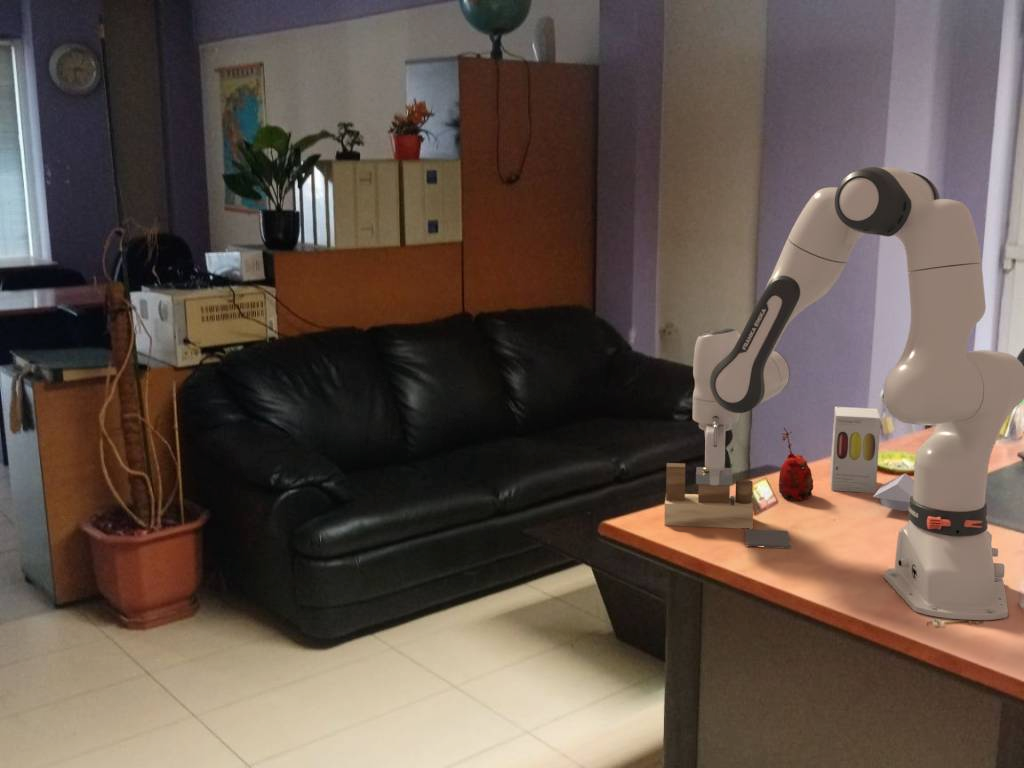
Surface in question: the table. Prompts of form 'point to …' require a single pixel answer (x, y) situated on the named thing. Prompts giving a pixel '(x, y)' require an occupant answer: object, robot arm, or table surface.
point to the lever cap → (704, 476)
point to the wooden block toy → (706, 503)
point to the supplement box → (855, 449)
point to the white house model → (896, 493)
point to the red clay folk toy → (795, 476)
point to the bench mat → (767, 538)
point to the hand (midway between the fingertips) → (714, 479)
